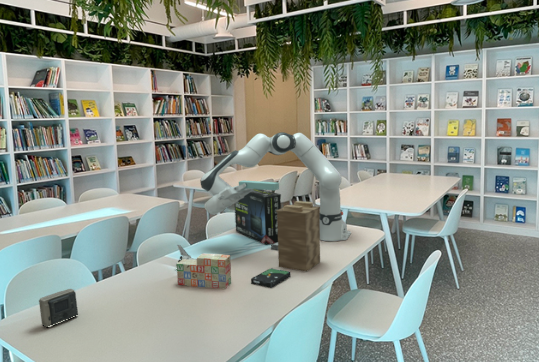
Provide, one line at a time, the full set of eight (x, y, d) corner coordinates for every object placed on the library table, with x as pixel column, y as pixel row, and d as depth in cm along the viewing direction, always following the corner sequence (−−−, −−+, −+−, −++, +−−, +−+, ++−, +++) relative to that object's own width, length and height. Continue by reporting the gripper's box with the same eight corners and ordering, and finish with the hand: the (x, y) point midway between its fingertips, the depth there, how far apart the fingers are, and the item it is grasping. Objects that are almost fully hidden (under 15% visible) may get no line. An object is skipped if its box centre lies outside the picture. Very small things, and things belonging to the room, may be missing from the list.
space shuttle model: (214, 277, 187) (213, 255, 185) (168, 270, 197) (166, 249, 196) (232, 266, 201) (231, 245, 199) (188, 260, 211) (187, 240, 210)
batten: (243, 186, 211) (243, 180, 211) (279, 189, 201) (278, 182, 200) (238, 187, 208) (238, 181, 208) (274, 190, 198) (274, 184, 197)
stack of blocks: (177, 285, 178) (175, 256, 176) (184, 279, 184) (182, 251, 182) (226, 289, 173) (224, 259, 171) (231, 283, 179) (230, 254, 177)
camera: (72, 313, 155) (70, 286, 153) (80, 317, 151) (78, 290, 150) (39, 325, 146) (36, 297, 145) (47, 330, 142) (43, 301, 141)
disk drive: (272, 290, 172) (291, 277, 184) (271, 283, 171) (290, 271, 184) (250, 285, 178) (270, 273, 190) (250, 278, 177) (270, 267, 189)
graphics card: (270, 244, 221) (296, 233, 241) (270, 250, 222) (296, 238, 242) (287, 247, 216) (312, 235, 236) (287, 253, 216) (312, 241, 236)
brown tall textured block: (293, 257, 208) (291, 200, 204) (321, 262, 201) (320, 202, 197) (277, 266, 196) (276, 206, 192) (306, 272, 188) (305, 208, 184)
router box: (234, 231, 259) (232, 187, 255) (250, 228, 265) (249, 185, 261) (266, 245, 229) (264, 195, 225) (283, 242, 235) (282, 193, 231)
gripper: (213, 193, 206) (233, 180, 199) (238, 187, 223) (257, 175, 216) (219, 205, 205) (239, 193, 198) (244, 198, 222) (263, 186, 215)
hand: (249, 183), depth 207 cm, fingers closed on batten, 4 cm apart
